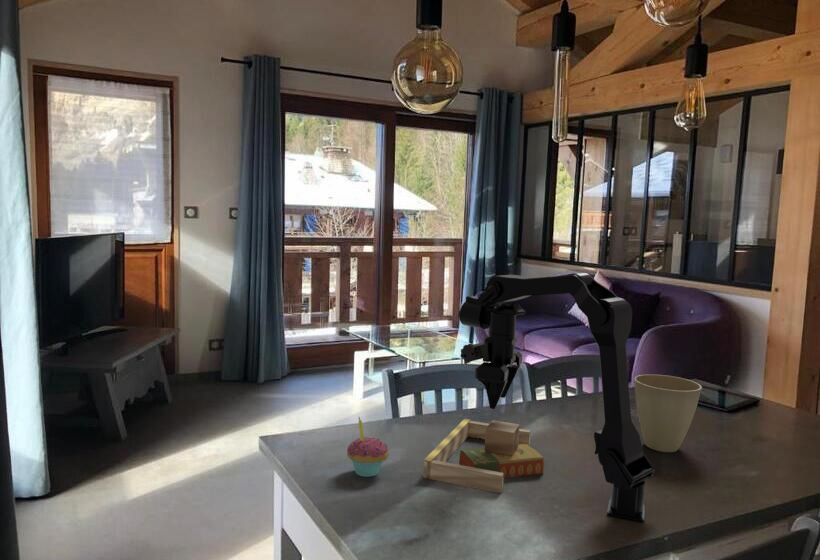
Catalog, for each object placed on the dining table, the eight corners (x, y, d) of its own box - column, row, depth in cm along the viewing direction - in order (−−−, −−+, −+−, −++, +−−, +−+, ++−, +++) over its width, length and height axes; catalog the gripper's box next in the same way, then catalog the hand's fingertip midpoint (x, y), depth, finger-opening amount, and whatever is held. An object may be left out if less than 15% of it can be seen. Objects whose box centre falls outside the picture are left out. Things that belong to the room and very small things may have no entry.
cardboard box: (512, 455, 138) (513, 432, 138) (484, 451, 140) (485, 428, 140) (518, 446, 144) (519, 424, 143) (491, 442, 146) (492, 420, 145)
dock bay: (500, 493, 129) (502, 474, 128) (423, 477, 135) (423, 459, 134) (529, 444, 156) (530, 429, 155) (463, 433, 162) (464, 418, 161)
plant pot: (698, 462, 148) (704, 394, 147) (629, 452, 153) (634, 385, 151) (693, 441, 162) (698, 378, 161) (629, 432, 167) (634, 371, 165)
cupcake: (350, 482, 131) (352, 424, 130) (343, 465, 139) (344, 410, 138) (392, 478, 134) (394, 421, 132) (382, 462, 142) (384, 408, 140)
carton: (543, 475, 139) (544, 456, 138) (473, 483, 134) (474, 462, 134) (525, 460, 147) (526, 442, 146) (458, 466, 142) (459, 447, 142)
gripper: (477, 322, 154) (473, 387, 156) (453, 336, 136) (449, 409, 138) (524, 327, 150) (520, 393, 152) (505, 342, 133) (501, 417, 134)
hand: (497, 402), depth 144 cm, fingers open, 9 cm apart
